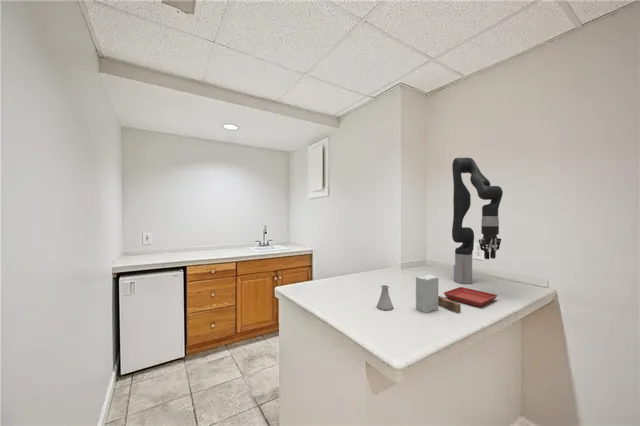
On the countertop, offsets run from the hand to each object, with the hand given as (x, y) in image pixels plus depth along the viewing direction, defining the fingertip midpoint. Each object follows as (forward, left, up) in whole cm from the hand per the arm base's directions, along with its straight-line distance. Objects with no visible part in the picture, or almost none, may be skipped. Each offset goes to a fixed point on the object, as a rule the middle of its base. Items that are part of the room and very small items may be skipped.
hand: (489, 258), depth 137 cm
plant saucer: (0, -14, -20) cm, 24 cm away
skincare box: (+2, -43, -19) cm, 47 cm away
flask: (-7, -59, -20) cm, 63 cm away
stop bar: (0, -33, -19) cm, 38 cm away
